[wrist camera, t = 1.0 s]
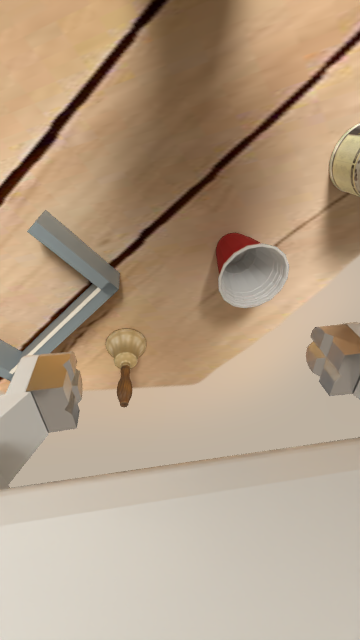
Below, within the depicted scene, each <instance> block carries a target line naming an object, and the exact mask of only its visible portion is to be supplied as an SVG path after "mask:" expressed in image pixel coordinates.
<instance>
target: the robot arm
mask: <svg viewBox="0 0 360 640" xmlns="http://www.w3.org/2000/svg"><path fill="white" fill-rule="evenodd" d="M311 338H312V340H313V342H312V343H311V344H310V345H309V346H308V348H307V352H306V359H307V363H308V366H309V368H310V369H311V371H312V372H313V373H315V374H317V375H318V376H320V379H319V382H320V384H321V385H322V386H323V388H324V389H325V391H326V392H327V393H328V395H329V396H334V395H345V394H353V395H354V396H356V397H357V398H359V399H360V323H358V322H353V323H345V324H339V325H330V326H322V327H315V328H314V329H313V331H312V333H311ZM76 364H77V359H76V356H75V353H73V352H62V353H50V354H41V355H28V356H24V357H22V358H21V360H20V362H19V364H18V366H17V369H16V371H15V373H14V376H13V378H12V380H11V382H10V385H9V387H8V389H7V392H6V394H4V395H0V640H360V437H358V438H352V439H345V440H337V441H332V442H324V443H318V444H310V445H303V446H296V447H289V448H283V449H276V450H269V451H262V452H255V453H248V454H241V455H234V456H227V457H220V458H213V459H206V460H199V461H193V462H186V463H179V464H172V465H165V466H158V467H151V468H144V469H137V470H131V471H123V472H116V473H109V474H103V475H96V476H89V477H82V478H75V479H68V480H61V481H54V482H47V483H41V484H34V485H27V486H20V487H13V488H10V487H9V483H10V482H11V481H12V479H13V478H14V477H15V476H16V474H17V473H18V472H19V471H20V469H21V468H22V467H23V466H24V464H25V463H26V462H27V461H28V459H29V458H30V457H31V456H32V454H33V453H34V452H35V451H36V449H37V448H38V447H39V446H40V444H41V443H42V442H43V440H44V439H45V438H46V437H47V435H48V433H49V432H56V431H62V430H68V429H75V428H77V423H78V417H79V407H78V403H79V402H80V401H81V399H82V378H81V374H80V371H79V370H77V369H76Z"/></svg>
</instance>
